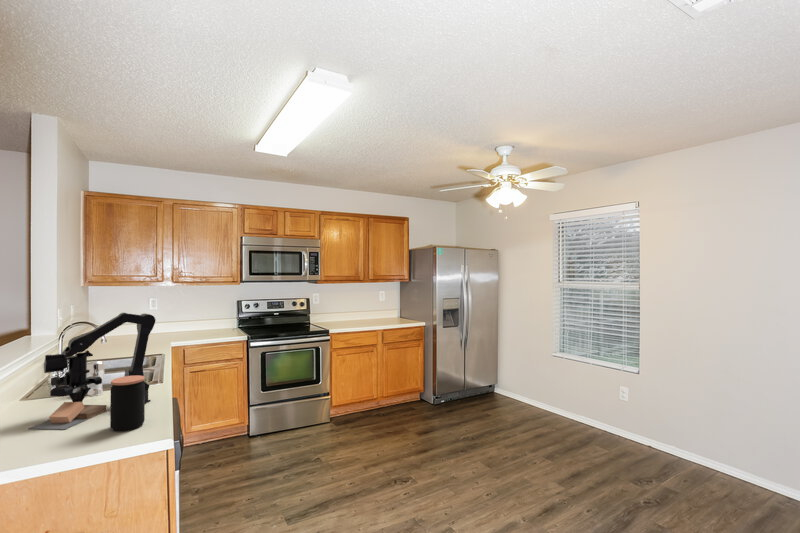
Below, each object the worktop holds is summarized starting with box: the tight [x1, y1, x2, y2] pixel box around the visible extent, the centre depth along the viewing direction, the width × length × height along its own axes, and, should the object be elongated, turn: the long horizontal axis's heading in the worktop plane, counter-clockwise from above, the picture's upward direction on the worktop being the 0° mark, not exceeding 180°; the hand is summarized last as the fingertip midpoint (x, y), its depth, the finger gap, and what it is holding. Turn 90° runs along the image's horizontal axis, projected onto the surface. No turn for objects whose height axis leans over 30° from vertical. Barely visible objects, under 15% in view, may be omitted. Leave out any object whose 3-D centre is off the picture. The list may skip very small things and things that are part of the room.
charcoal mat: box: [28, 419, 88, 431], centre depth 154 cm, size 14×10×1 cm
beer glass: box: [86, 360, 105, 397], centre depth 192 cm, size 7×7×15 cm
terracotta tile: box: [48, 401, 85, 423], centre depth 158 cm, size 7×8×3 cm
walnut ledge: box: [74, 404, 107, 421], centre depth 164 cm, size 14×10×2 cm
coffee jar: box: [109, 375, 146, 433], centre depth 152 cm, size 11×11×18 cm
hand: (77, 407), depth 163 cm, fingers closed
